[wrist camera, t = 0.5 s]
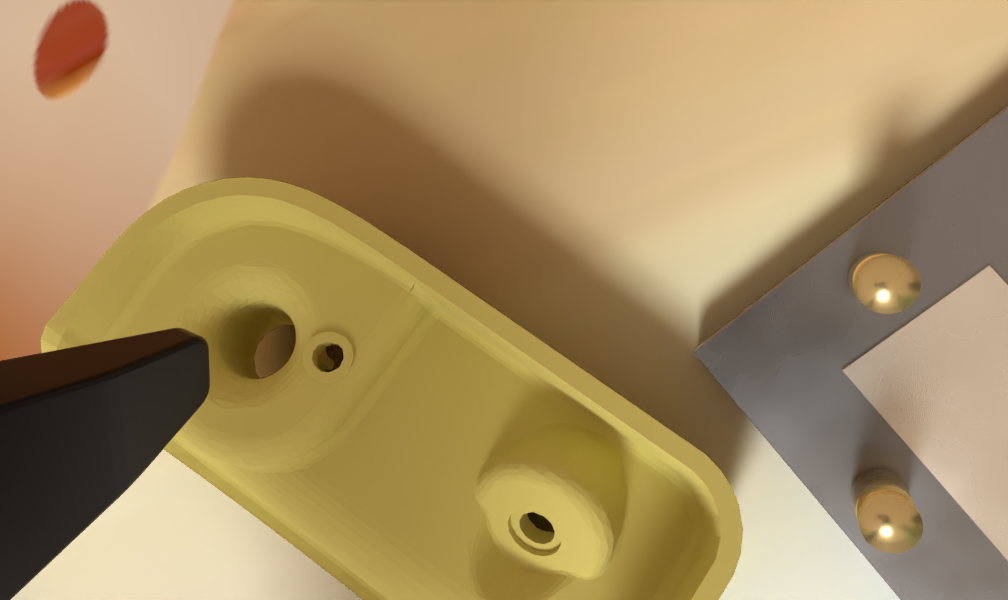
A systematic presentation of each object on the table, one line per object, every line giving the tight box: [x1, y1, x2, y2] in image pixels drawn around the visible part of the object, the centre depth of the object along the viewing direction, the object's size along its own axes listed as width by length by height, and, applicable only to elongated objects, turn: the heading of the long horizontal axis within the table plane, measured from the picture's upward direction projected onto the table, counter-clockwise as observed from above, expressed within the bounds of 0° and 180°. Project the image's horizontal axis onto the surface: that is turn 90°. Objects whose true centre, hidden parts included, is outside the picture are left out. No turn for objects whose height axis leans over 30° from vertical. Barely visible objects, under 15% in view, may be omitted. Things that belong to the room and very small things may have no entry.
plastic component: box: [41, 177, 743, 600], centre depth 25 cm, size 20×7×10 cm
